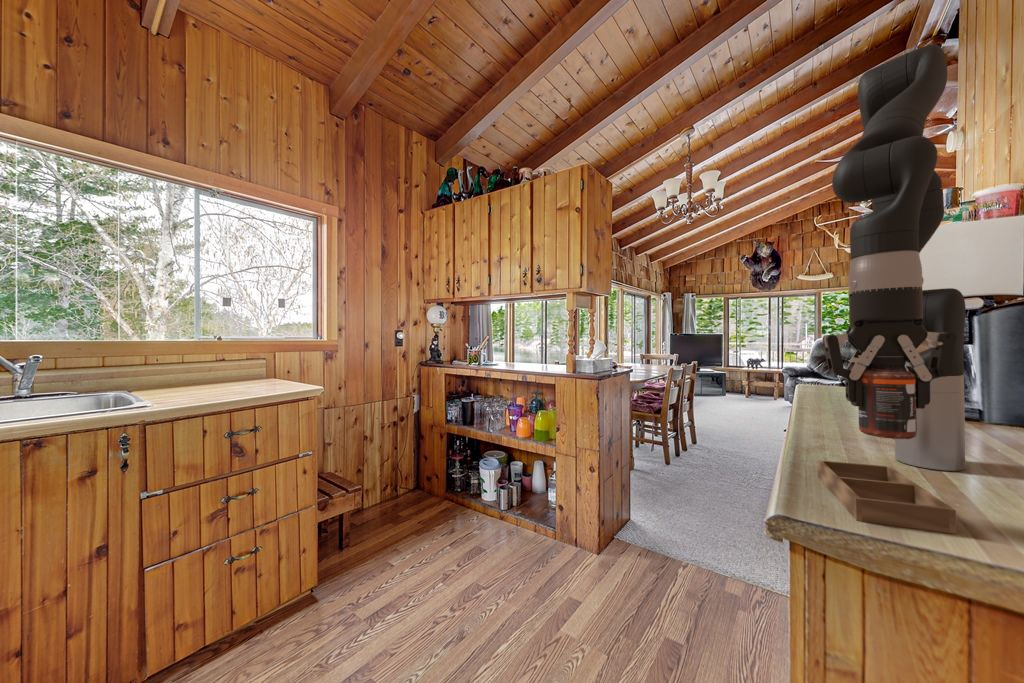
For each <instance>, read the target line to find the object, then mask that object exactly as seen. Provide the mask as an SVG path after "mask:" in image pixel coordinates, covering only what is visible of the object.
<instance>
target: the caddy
mask: <svg viewBox="0 0 1024 683" xmlns="http://www.w3.org/2000/svg"><path fill="white" fill-rule="evenodd" d="M817 478H818V479H819V480H820V481H821V482H822V483H823V484H824V485H825V487H826V488H827V489H828V490H829V491H830V493H832V494H833V496H834V497H835V498H836V499H837V500H838V501H839V502H840V503H841V505H842V506H843V508H845V509H846V511H848V513H849V514H850V515H851V516H852V518H854V519H855V521H858V522H865V523H871V524H881V525H887V526H895V527H902V528H907V529H908V528H911V529H915V530H926V531H934V532H937V533H939V532H940V533H947V534H954V535H956V534H957V523H956V522H957V520H956V519H957V518H956V515H957V514H956V513H957V512H956V509H955V508H953V507H951V505H948V504H947V503H945V502H944V501H943V500H941V499H940V498H938V497H937V496H935V495H933V494H932V493H931V492H929V491H927V490H926V489H924V488H923V487H922V486H920V485H918V484H917V483H916V482H914V481H912V480H911V479H909V478H908V477H907V476H905V475H904V474H902V473H900V472H899V471H897V470H896V469H894V468H893V467H892V466H888V465H878V464H866V463H865V464H863V463H854V462H842V461H831V460H821V459H820V460H819V459H817Z"/></svg>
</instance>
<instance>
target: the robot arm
mask: <svg viewBox="0 0 1024 683" xmlns="http://www.w3.org/2000/svg"><path fill="white" fill-rule="evenodd" d="M947 81H948V64H947V57H946V54H945V51H944V49H943V48H942V47H941V46H940V45H939V44H936V43H935V44H933V43H932V44H927V45H924V46H921V47H918V48H915V49H913V50H911V51H909V52H905V53H904V54H901V55H899V56H897V57H894V58H892V59H890V60H888V61H885V62H884V63H881V64H879V65H877V66H874V67H873V68H870V69H868V70H867V71H865V72H864V73H862V75H861V76H860V78H859V80H858V82H857V83H858V84H857V100H858V108H859V113H860V118H861V124H862V129H863V130H862V131H863V132H862V134H861V137H860V140H858V141H857V142H856V143H855V144H854V145H853V146H852V147H851V148H850V149H848V151H846V153H845V154H844V155H843V156H842V157H841V159H840V160H839V162H838V163H837V165H836V167H835V169H834V172H833V175H832V181H831V184H832V186H831V187H832V190H833V193H834V196H836V197H837V198H838V199H839V200H841V201H842V202H844V203H849V204H857V203H862V202H868V201H871V205H872V212H871V213H869V214H866V215H864V216H861V217H860V218H858V219H856V220H855V221H853V222H852V224H851V226H850V228H849V230H850V231H849V244H850V245H849V246H850V247H849V249H850V251H849V252H850V254H849V256H850V257H849V259H850V264H849V271H848V315H849V316H848V318H849V320H848V322H849V326H848V328H847V331H846V332H845V333H841V334H840V333H839V334H826V335H824V336H823V337H822V345H823V349H824V354H825V358H826V359H825V360H826V364H827V369H828V372H829V373H830V374H831V375H835V376H839V377H841V378H843V379H844V382H845V386H844V388H845V398H846V401H847V402H850V404H851V405H852V406H854V407H858V406H862V404H863V403H862V381H860V380H859V378H860V377H861V375H862V373H863V372H864V370H865V368H866V367H868V366H869V364H870V363H871V361H872V359H873V358H874V356H904V357H905V363H906V364H905V368H906V370H907V371H909V372H912V373H913V374H914V375H915V379H916V418H917V420H916V423H917V432H916V436H915V437H914V438H911V439H894V458H895V460H897V461H898V462H900V463H903V464H906V465H911V466H914V467H919V468H924V469H930V470H937V471H951V472H952V471H955V472H957V471H958V472H959V471H963V470H965V469H966V423H965V422H966V419H965V418H966V415H965V414H966V413H965V412H966V411H965V379H964V378H965V375H964V372H965V370H964V368H965V367H964V366H965V365H964V363H965V362H964V356H965V354H964V353H965V351H964V350H965V349H964V346H965V344H964V343H965V341H964V340H965V328H966V302H965V301H966V300H965V297H964V295H963V293H962V291H960V290H958V289H957V288H951V287H948V288H946V287H945V288H936V289H935V288H934V289H933V288H932V289H924V290H923V285H924V277H923V267H922V261H921V257H920V253H921V251H923V249H924V248H925V247H926V245H927V244H928V243H929V241H930V240H931V238H932V237H933V236H934V234H935V232H936V231H937V230H938V228H939V227H940V225H941V223H942V222H943V219H944V217H945V216H944V215H945V204H944V203H945V202H944V191H943V189H944V188H943V181H942V179H941V176H940V175H939V174H938V172H936V171H935V169H936V166H937V161H938V150H937V149H938V148H937V147H936V145H935V143H934V142H933V141H932V140H931V139H930V138H928V137H926V136H924V131H925V124H926V121H927V119H928V117H929V116H930V114H931V113H932V111H933V110H934V108H935V107H936V105H937V103H938V102H939V100H940V98H941V97H942V95H943V94H944V91H945V89H946V86H947V83H948V82H947ZM925 340H926V341H927V345H928V348H927V349H925V350H923V351H920V352H918V350H917V349H918V348H919V346H920V345H921V344H923V342H925ZM845 342H848V343H850V345H851V346H852V347H853V348H854V349H855V351H854V353H853V354H852V355H851V357H850V360H849V364H848V365H847V366H846V368H845V367H844V362H843V359H842V358H843V357H842V352H841V349H843V348H844V347H845Z"/></svg>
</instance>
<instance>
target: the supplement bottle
mask: <svg viewBox="0 0 1024 683" xmlns="http://www.w3.org/2000/svg"><path fill="white" fill-rule="evenodd" d="M905 364H906V363H905V357H904V356H874V358H873V359H872V361H871V363H870V364H869V366H868V367H866V368H865V370H864V372H863V373H862V375H861V377H860V378H859V380H860V381H862V403H863V404H862V406H857V407H858V408H857V409H858V429H859V431H860V432H861V433H863V434H865V435H868V436H872V437H877V438H883V439H892V440H895V439H911V438H914V437H915V436H916V432H917V423H916V420H917V418H916V379H915V375H914V374H913V373H912V372H909V371H907V370H906V368H905Z"/></svg>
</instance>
